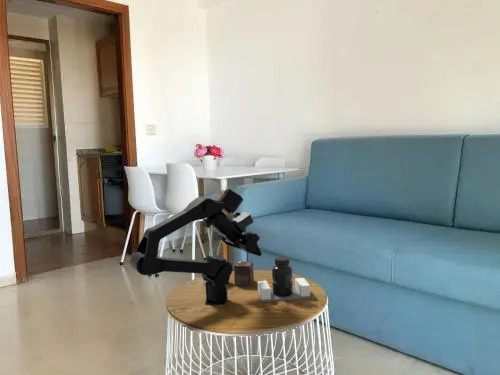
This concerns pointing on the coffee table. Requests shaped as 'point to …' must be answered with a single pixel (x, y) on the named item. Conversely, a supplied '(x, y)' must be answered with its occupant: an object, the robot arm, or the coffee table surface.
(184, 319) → the coffee table surface
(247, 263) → the box
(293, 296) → the rail plate
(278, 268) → the supplement bottle
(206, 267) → the robot arm
